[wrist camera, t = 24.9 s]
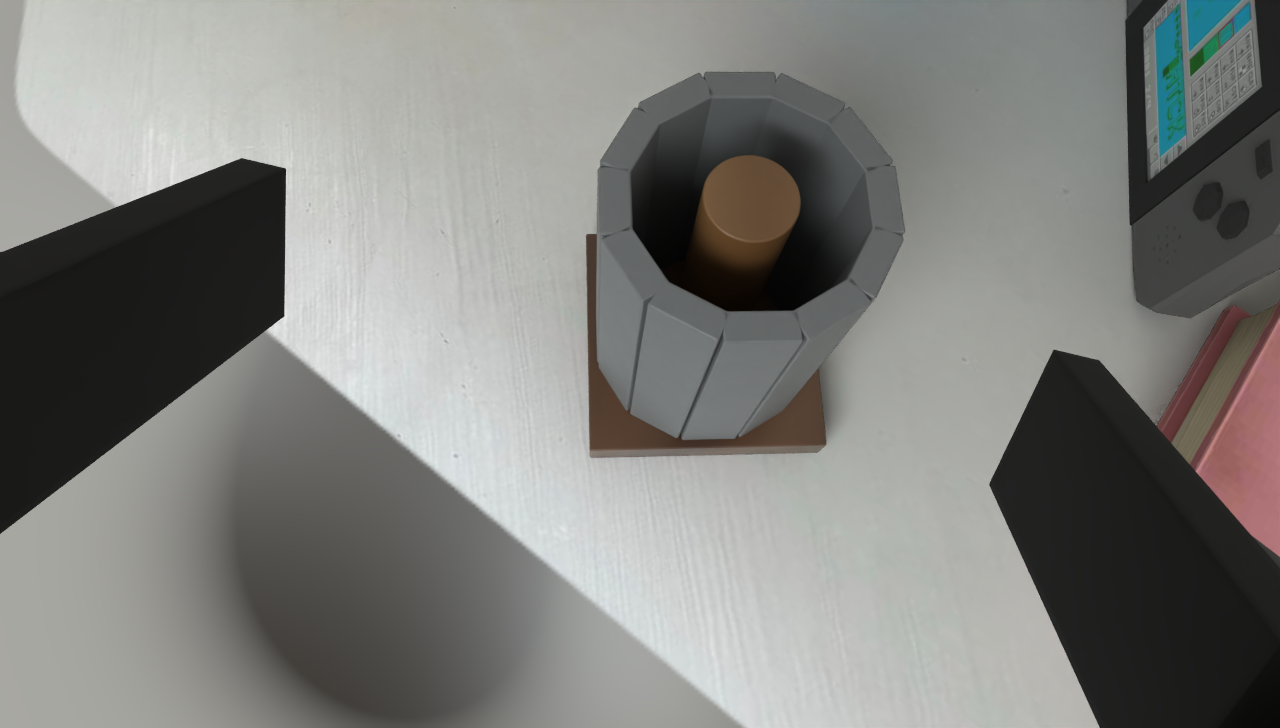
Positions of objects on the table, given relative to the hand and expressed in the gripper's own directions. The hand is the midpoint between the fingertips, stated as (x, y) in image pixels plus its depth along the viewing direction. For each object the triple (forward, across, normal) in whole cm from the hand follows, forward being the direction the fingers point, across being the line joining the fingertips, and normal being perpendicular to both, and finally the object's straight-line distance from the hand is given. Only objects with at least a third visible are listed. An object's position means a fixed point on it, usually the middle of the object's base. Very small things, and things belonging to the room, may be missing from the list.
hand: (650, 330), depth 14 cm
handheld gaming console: (+34, +22, +2) cm, 41 cm away
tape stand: (+22, +2, -10) cm, 24 cm away
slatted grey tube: (+20, +2, -9) cm, 22 cm away
